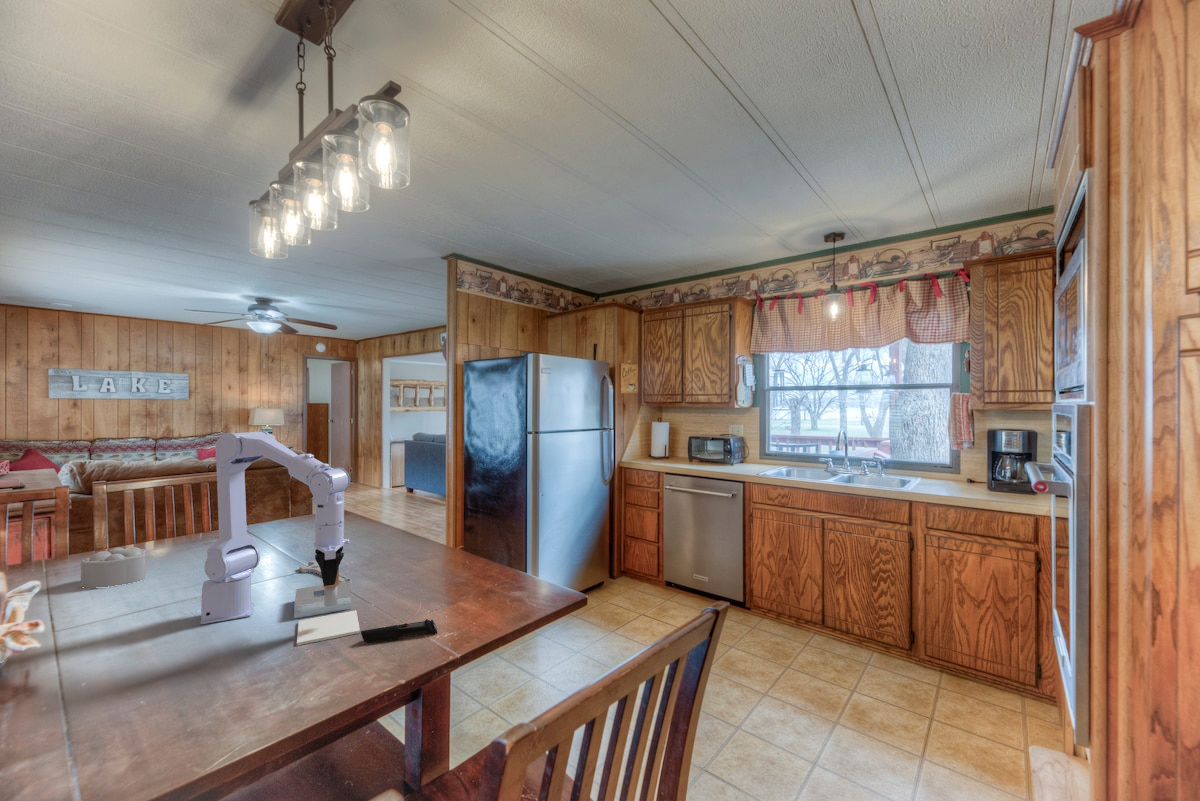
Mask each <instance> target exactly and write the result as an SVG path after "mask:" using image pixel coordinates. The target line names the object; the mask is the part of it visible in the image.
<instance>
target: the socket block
mask: <svg viewBox="0 0 1200 801" xmlns="http://www.w3.org/2000/svg"><path fill="white" fill-rule="evenodd" d="M295 589H296V590H295V598H294V607H293V608H294V610H293V611H294V614H293V619H294V620H297V619H302V618H308V617H313V616H319V615H325V614H329V613H330V614H332V613H334V612H335V613H336V612H340V611H347V610H352V594H351V587H350V585H349V581H346V582H340V583H339V586H337V604H336V605H334V606H330V607H326V606H324V587H323V584H319V585H315V586H307V587H301V588H300V587H299V588H295Z"/></svg>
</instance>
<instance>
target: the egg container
mask: <svg viewBox="0 0 1200 801" xmlns="http://www.w3.org/2000/svg"><path fill="white" fill-rule="evenodd" d="M146 552H147V551H146V549H144V548H140V547H136V546H133V547H132V546H131V547H127V548H123V547H114V548H111V549H110V550H108V551H107V550H104V551H103V550H102V551H98V552H96V553H94V554H93V555H91V557H86V558H84V559H82V560H81V561H80V588H81V587H84V588H96V587H108V586H115V585H121V586H123V585H122V584H126V585H129V584H128V583H131V584H134V583H133V582H136V583H138V582H137V581H139V582H141V581H140V580H142V581H144V580H146V573H147V572H146V570H147V569H146V568H147V567H146V565H147V564H146V560H147V558H146V557H147V555H146ZM143 579H144V580H143ZM115 587H116V586H115Z"/></svg>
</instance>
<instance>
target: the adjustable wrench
mask: <svg viewBox="0 0 1200 801" xmlns="http://www.w3.org/2000/svg"><path fill="white" fill-rule="evenodd" d="M300 571H301V572H300ZM299 572H300V573H301V574H306V573H308V572H309V574H311V573H310V572H313V573H312V574H316V573H317V574H316V575H318V574H319V576H321V577H322V574H321V570H320V567H319V565H318V563H317V561H316V560H311V561H308V562H307V565H305V564H300V565H299ZM352 580H353V579H352V578H350V577H348V576H345V575H342V574H341V573H339V583H340V582H346V581H349V584H350V585H352V584H353V583H352V582H353V581H352Z"/></svg>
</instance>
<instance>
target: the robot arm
mask: <svg viewBox="0 0 1200 801" xmlns="http://www.w3.org/2000/svg"><path fill="white" fill-rule="evenodd" d="M214 444H215V461H216V462H215V466H216V467H215V468H216V486H217V488H216V489H217V490H216V491H217V510H218V511H217V513H218V518H217V519H218V539H216V541H215V542H214V543H213V544H211V545H210V546H209V547H208V549H206V551H207V552H206V553H207V555H206V556H207V557H206V560H205V562H204V573H205V575H206V576H207V578H209V579H207V580H205V581H203V583H202V588H201V603H200V604H201V609H200V610H201V613H200V614H201V615H200V618H201V620H200V625H206V624H211V623H218V622H225V621H230V620H236V619H241V618H248V617H251V616H252V614H253V610H254V607H255V602H252V574H254V573H255V568H257V567H258V566H259V563H260V560H261V554H260V551H259V549H258V544H257V539H256V538H254V537H252V536H250V535H249V534H248V528H247V526H248V525H247V502H246V501H247V500H246V497H247V496H246V478H245V476H246V475H245V474H246V473H245V472H246V470H247V468H249V467H250V466H251V465H252V463H254V462H257V461H259V460H260V459H262V458H267V459H269V460H271V461H273V462H275V463H277V464H279V465H282V466H283V467H286V468H287V472H288V474H289V475H290V477H293V478H295V479H296V480H297V481H299V482H301V483H303V484H305V485H306V486H308V488H309V491H310V492H311V494H312V497H313V498H312V499H313V500H312V501H313V502H314V505H315V508H314V509H315V510H314V511H315V513H314V514H315V518H314V520H315V521H314V524H315V525H314V543H313V547H314V549H315V555H314V559H315V561H317V563H318V565H319V567H320V570H321V574H322V576H321V579H322V585H323V584H324V586H329V585H334V584H335V581H336V577H337V572H338V568H339V569H340V564H341V562H342V560H343V558H344V556H345V554H344V552H343V550H344V545H348V544H350V538H345V533H344V532H345V528H344V526H345V491H347V490H349V488H350V485H351V477H350V474H349V472H348V471H347V470H346V469H344V468H343V467H339V466H338V467H330V464H328V463H323V462H322V461H320V460H318V459H317V458H315V455H314V454H312V453H301V454H297V453H296V452H295V451H293V450H291V449H290V448H289V447H287V446H285V445H284V444H283V443H282V442H279V441H278V440H276V436H275V435H274V434H271V433H269V432H268V431H266V430H258V431H248V432H247V431H246V432H226V433H224V434H223V435H221V436H220V437H219V439H217V440H216V442H215V443H214Z"/></svg>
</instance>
